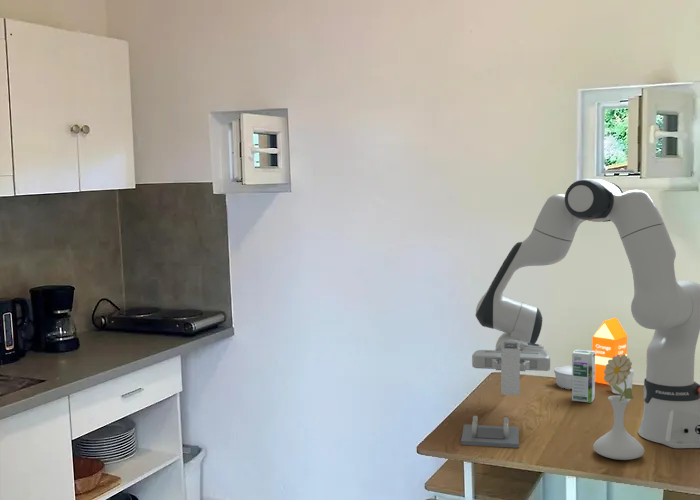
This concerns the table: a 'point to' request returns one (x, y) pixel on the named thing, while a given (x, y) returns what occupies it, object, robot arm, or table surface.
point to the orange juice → (608, 346)
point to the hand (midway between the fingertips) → (510, 367)
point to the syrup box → (583, 376)
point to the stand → (490, 435)
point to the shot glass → (622, 385)
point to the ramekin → (564, 376)
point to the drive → (510, 369)
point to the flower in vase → (618, 415)
